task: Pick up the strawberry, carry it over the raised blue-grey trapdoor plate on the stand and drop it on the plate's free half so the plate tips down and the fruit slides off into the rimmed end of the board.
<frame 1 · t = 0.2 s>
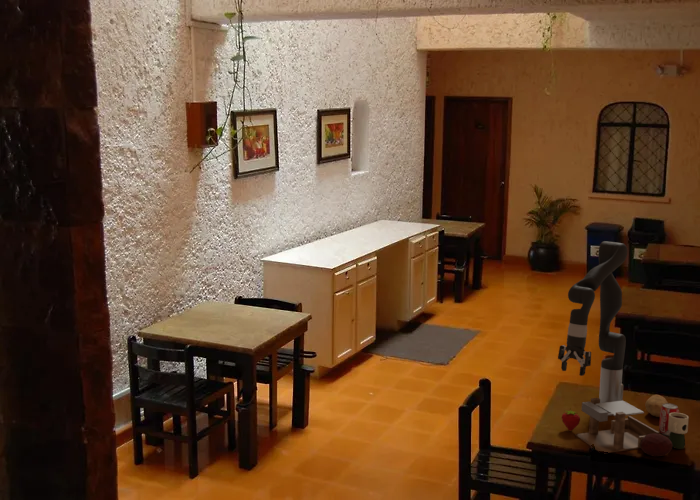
hand: (572, 373, 313), 23 cm above the table, tool pointing down, fingers open, 8 cm apart
character mug: (676, 447, 297), on the table
potato: (656, 416, 330), on the table
soda can: (667, 434, 310), on the table
stand: (616, 440, 303), on the table
trapdoor: (612, 409, 300), point 13 cm above the table, hinge at 0.0°
strawberry: (570, 431, 313), on the table
potato 2: (655, 455, 290), on the table
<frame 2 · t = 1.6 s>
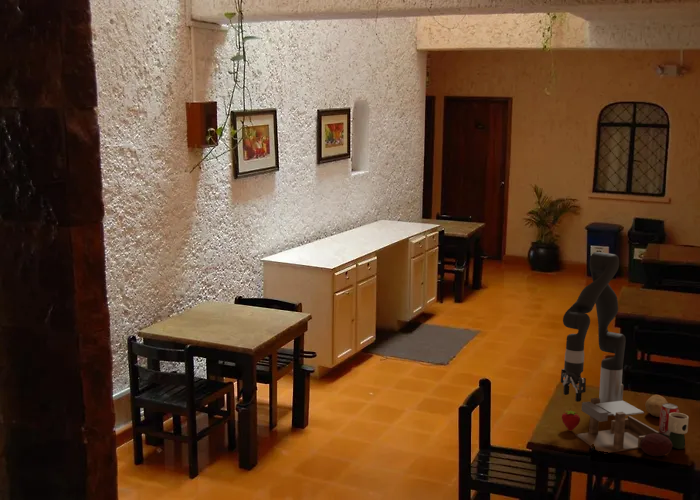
hand: (572, 397, 310), 14 cm above the table, tool pointing down, fingers open, 8 cm apart
nothing on the table moved.
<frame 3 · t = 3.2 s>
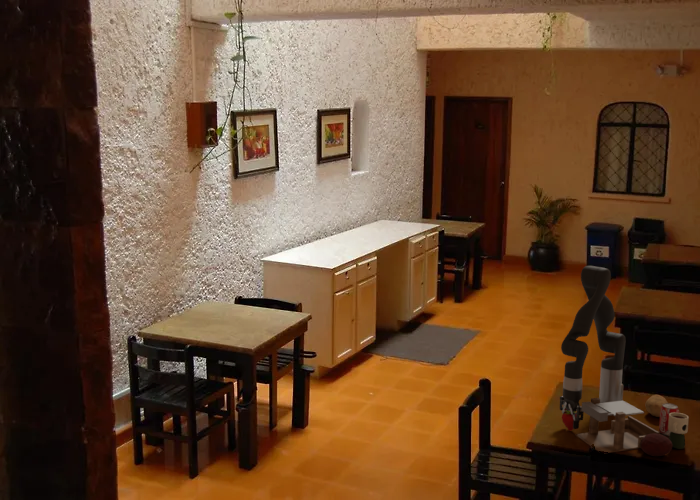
hand: (570, 425, 312), 2 cm above the table, tool pointing down, fingers closed on strawberry, 7 cm apart
strawberry: (570, 431, 313), on the table, touching gripper
everything else where it was.
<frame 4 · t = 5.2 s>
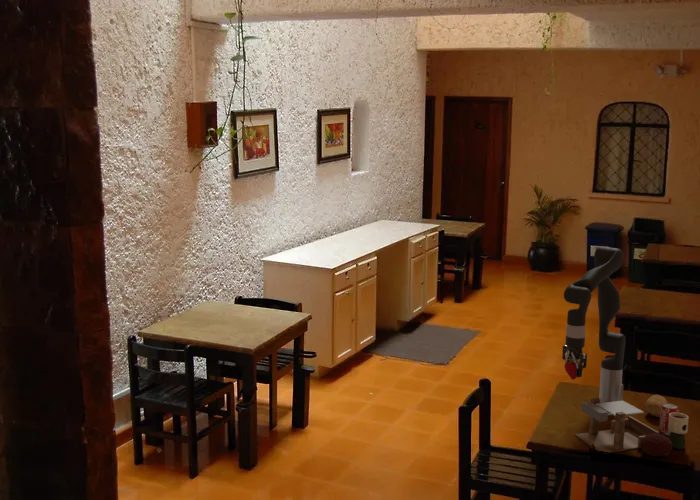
hand: (573, 373, 309), 24 cm above the table, tool pointing down, fingers closed on strawberry, 7 cm apart
strawberry: (573, 380, 309), point 22 cm above the table, touching gripper
everything else where it was.
when the fingers open (19 cm above the table, at t = 7.6 s): strawberry drops 3 cm, resting on stand.
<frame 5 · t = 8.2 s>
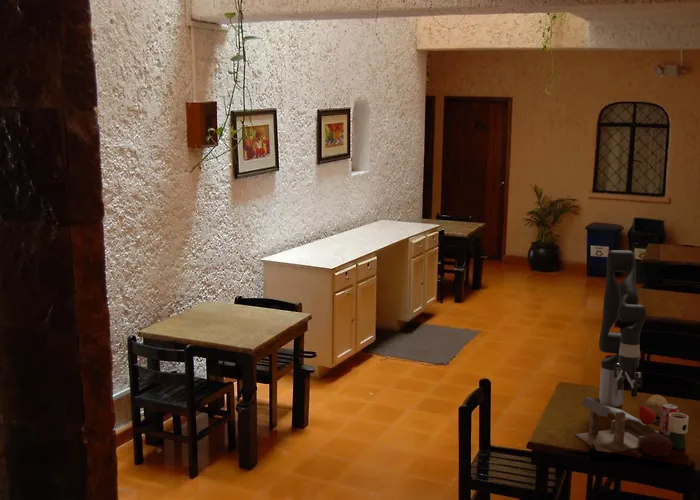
hand: (626, 393, 301), 20 cm above the table, tool pointing down, fingers open, 8 cm apart
trapdoor: (611, 411, 300), point 13 cm above the table, hinge at -18.9°
strawberry: (640, 405, 304), point 14 cm above the table, touching stand
everything else where it was.
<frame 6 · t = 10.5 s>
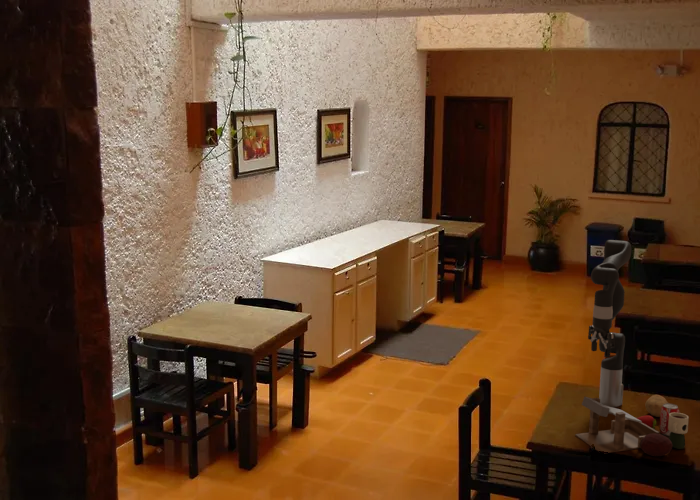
hand: (600, 353, 311), 32 cm above the table, tool pointing down, fingers open, 8 cm apart
strawberry: (634, 419, 317), point 3 cm above the table
everything else where it was.
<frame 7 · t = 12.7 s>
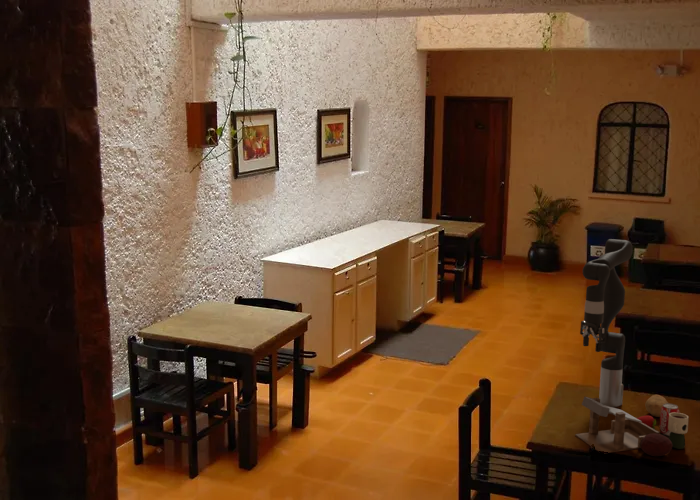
hand: (591, 348, 315), 33 cm above the table, tool pointing down, fingers open, 8 cm apart
nothing on the table moved.
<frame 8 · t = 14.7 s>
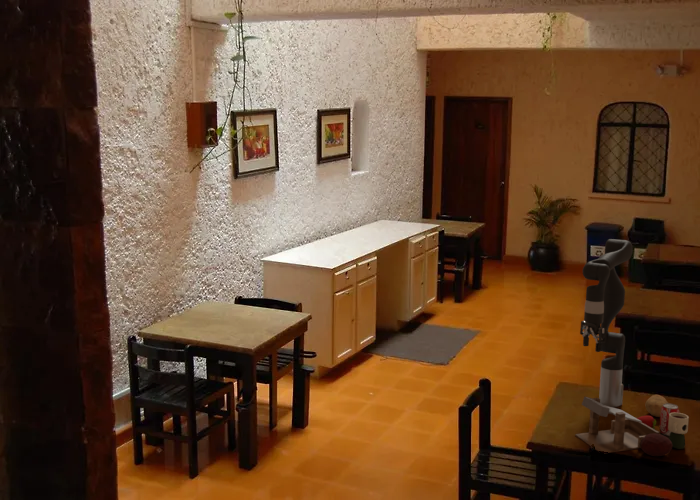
hand: (591, 348, 315), 33 cm above the table, tool pointing down, fingers open, 8 cm apart
nothing on the table moved.
at the end: strawberry point 2.9 cm above the table; strawberry inside the target area (15.7 cm from its centre), point 2.9 cm above the table; the gripper is holding nothing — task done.
